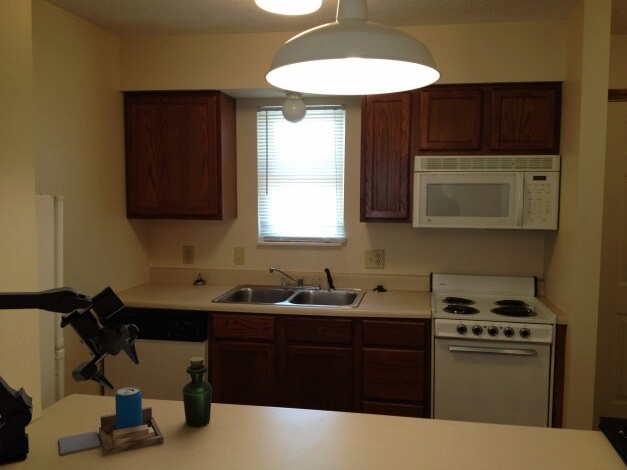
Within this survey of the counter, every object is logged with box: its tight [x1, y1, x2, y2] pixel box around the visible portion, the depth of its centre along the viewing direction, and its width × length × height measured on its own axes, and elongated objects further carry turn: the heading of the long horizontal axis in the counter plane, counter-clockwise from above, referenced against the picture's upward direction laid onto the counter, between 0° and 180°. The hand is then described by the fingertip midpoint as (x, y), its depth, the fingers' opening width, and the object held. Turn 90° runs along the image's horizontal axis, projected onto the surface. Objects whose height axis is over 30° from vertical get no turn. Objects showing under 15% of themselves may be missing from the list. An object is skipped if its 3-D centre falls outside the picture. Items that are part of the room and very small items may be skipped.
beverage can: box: [114, 386, 143, 430], centre depth 136 cm, size 6×6×12 cm
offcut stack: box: [110, 425, 156, 446], centre depth 132 cm, size 10×4×4 cm, turn 118°
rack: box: [98, 406, 165, 456], centre depth 135 cm, size 14×14×4 cm
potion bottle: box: [181, 356, 213, 428], centre depth 144 cm, size 8×8×18 cm
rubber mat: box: [58, 430, 102, 456], centre depth 132 cm, size 9×9×1 cm
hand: (125, 376), depth 136 cm, fingers open, 9 cm apart
